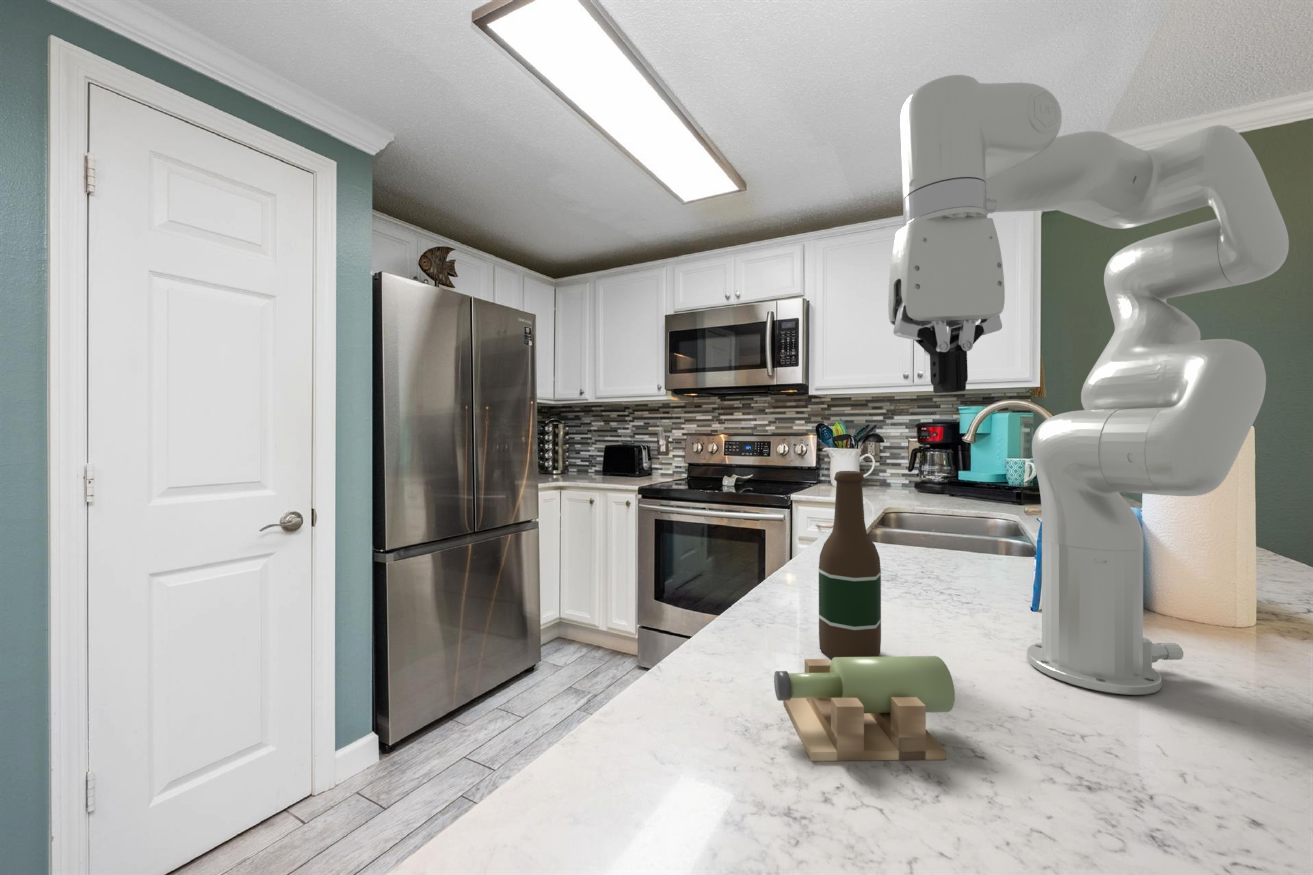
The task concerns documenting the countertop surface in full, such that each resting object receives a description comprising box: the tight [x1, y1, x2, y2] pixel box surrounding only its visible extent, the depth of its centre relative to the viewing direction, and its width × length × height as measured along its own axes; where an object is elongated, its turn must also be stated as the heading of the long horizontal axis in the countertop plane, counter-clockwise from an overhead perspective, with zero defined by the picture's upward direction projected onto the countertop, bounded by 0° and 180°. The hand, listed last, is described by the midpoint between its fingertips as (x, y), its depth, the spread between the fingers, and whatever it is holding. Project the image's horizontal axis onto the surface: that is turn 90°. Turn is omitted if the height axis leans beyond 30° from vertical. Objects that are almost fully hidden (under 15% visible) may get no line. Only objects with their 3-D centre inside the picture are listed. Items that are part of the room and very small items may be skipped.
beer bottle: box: [818, 470, 882, 661], centre depth 70 cm, size 8×8×24 cm
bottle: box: [773, 655, 956, 714], centre depth 52 cm, size 5×5×16 cm
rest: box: [783, 658, 947, 762], centre depth 52 cm, size 12×10×5 cm
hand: (949, 391), depth 55 cm, fingers closed
